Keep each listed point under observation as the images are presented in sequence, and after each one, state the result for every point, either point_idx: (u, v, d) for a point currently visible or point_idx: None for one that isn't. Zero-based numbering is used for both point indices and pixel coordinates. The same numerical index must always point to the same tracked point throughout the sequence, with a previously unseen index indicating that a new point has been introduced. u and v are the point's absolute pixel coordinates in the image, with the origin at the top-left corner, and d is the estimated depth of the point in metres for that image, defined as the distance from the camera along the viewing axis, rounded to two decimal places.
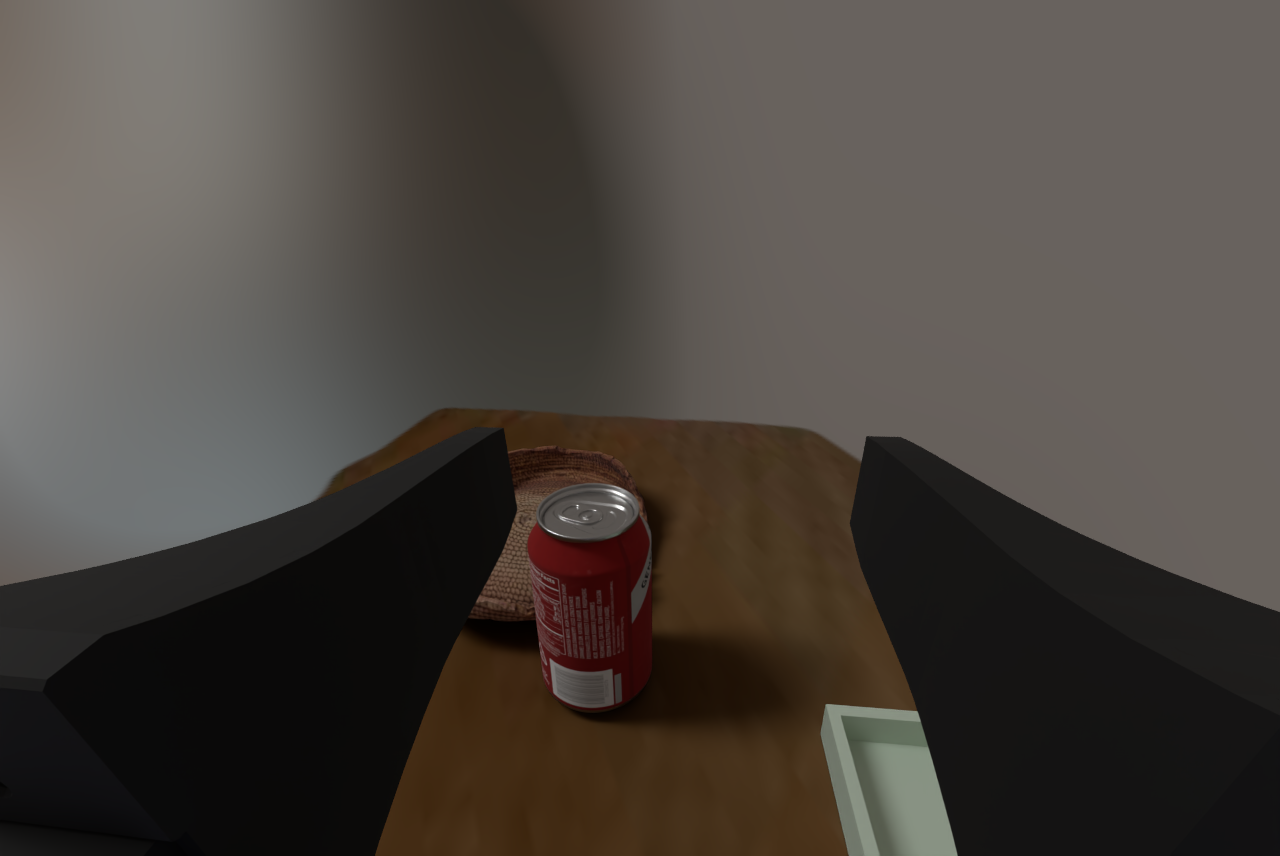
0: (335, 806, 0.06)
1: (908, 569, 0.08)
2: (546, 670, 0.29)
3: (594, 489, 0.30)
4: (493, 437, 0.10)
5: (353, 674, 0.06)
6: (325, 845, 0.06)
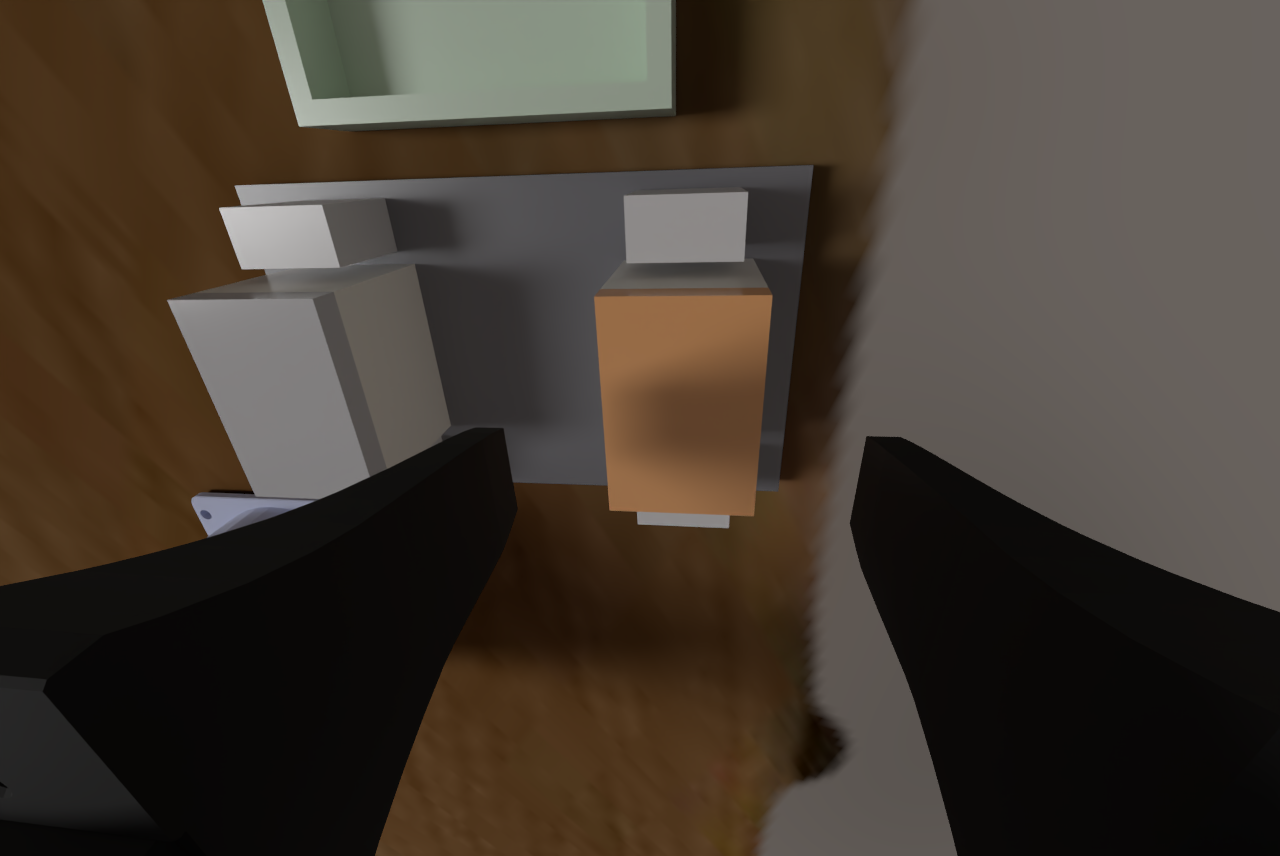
0: (335, 806, 0.06)
1: (908, 569, 0.08)
2: None
3: None
4: (493, 437, 0.10)
5: (353, 674, 0.06)
6: (325, 845, 0.06)
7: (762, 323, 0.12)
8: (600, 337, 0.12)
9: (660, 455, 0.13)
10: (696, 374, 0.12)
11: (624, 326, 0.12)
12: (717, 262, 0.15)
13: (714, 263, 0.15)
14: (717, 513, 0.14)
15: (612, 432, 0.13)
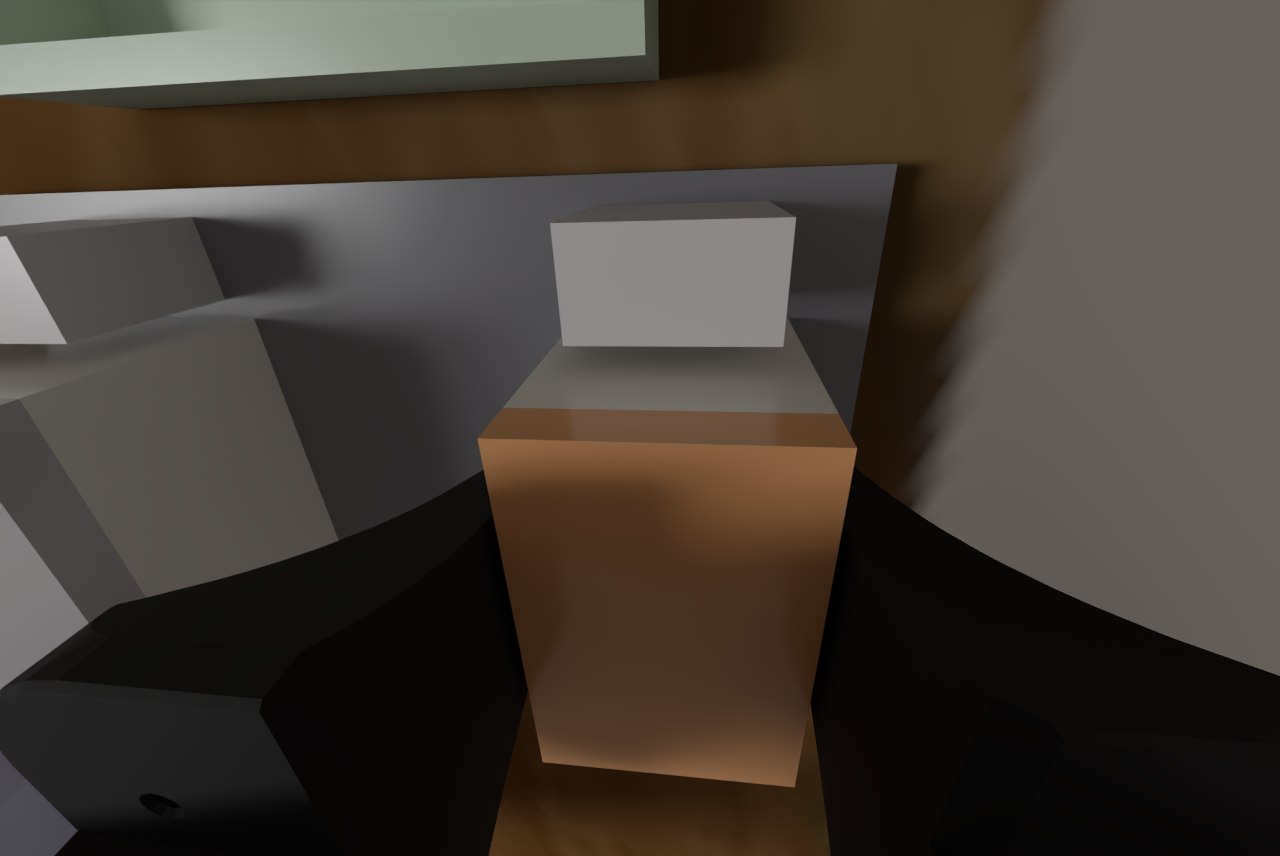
0: (459, 820, 0.06)
1: None
2: None
3: None
4: None
5: (472, 685, 0.06)
6: None
7: (831, 499, 0.05)
8: (498, 510, 0.06)
9: (626, 696, 0.07)
10: (691, 579, 0.06)
11: (544, 493, 0.06)
12: None
13: None
14: (729, 775, 0.08)
15: (537, 658, 0.07)
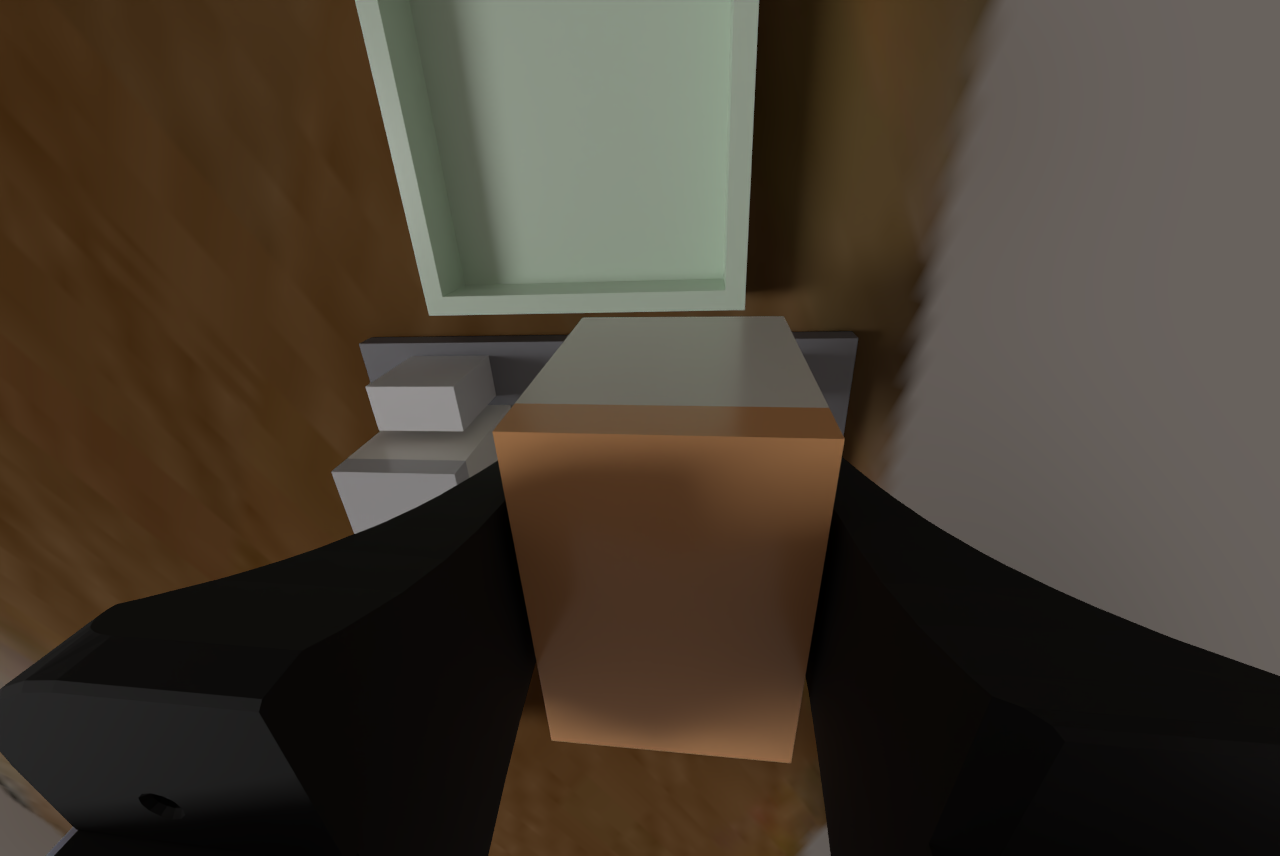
0: (459, 820, 0.06)
1: None
2: None
3: None
4: None
5: (472, 684, 0.06)
6: None
7: (821, 486, 0.06)
8: (511, 499, 0.06)
9: (631, 675, 0.08)
10: (692, 563, 0.07)
11: (554, 483, 0.06)
12: (727, 325, 0.10)
13: (723, 328, 0.09)
14: (729, 752, 0.09)
15: (546, 639, 0.08)
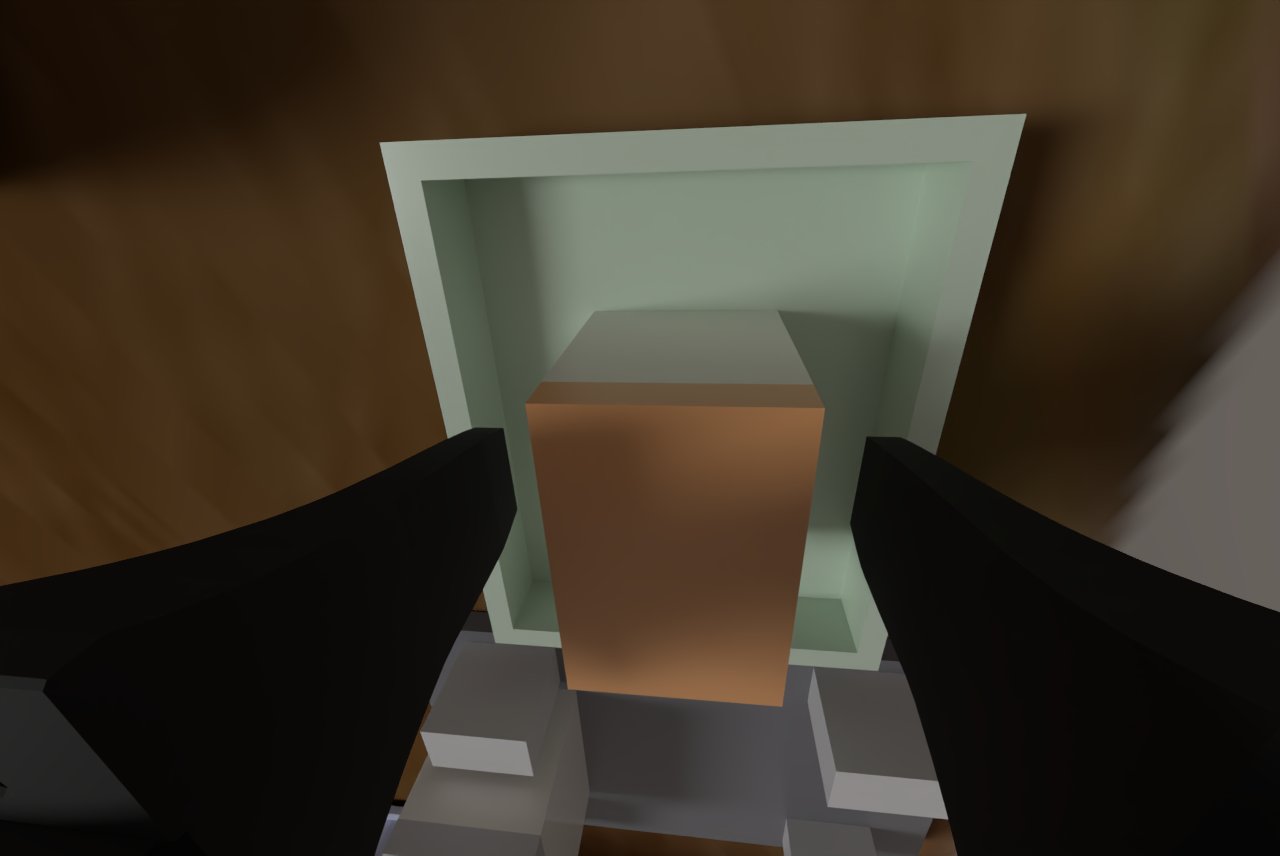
0: (335, 806, 0.06)
1: (908, 569, 0.08)
2: None
3: None
4: (493, 437, 0.10)
5: (353, 674, 0.06)
6: (325, 845, 0.06)
7: (806, 450, 0.07)
8: (539, 463, 0.07)
9: (640, 625, 0.09)
10: (695, 520, 0.08)
11: (577, 448, 0.07)
12: (726, 317, 0.11)
13: (722, 320, 0.10)
14: (726, 698, 0.10)
15: (566, 592, 0.09)
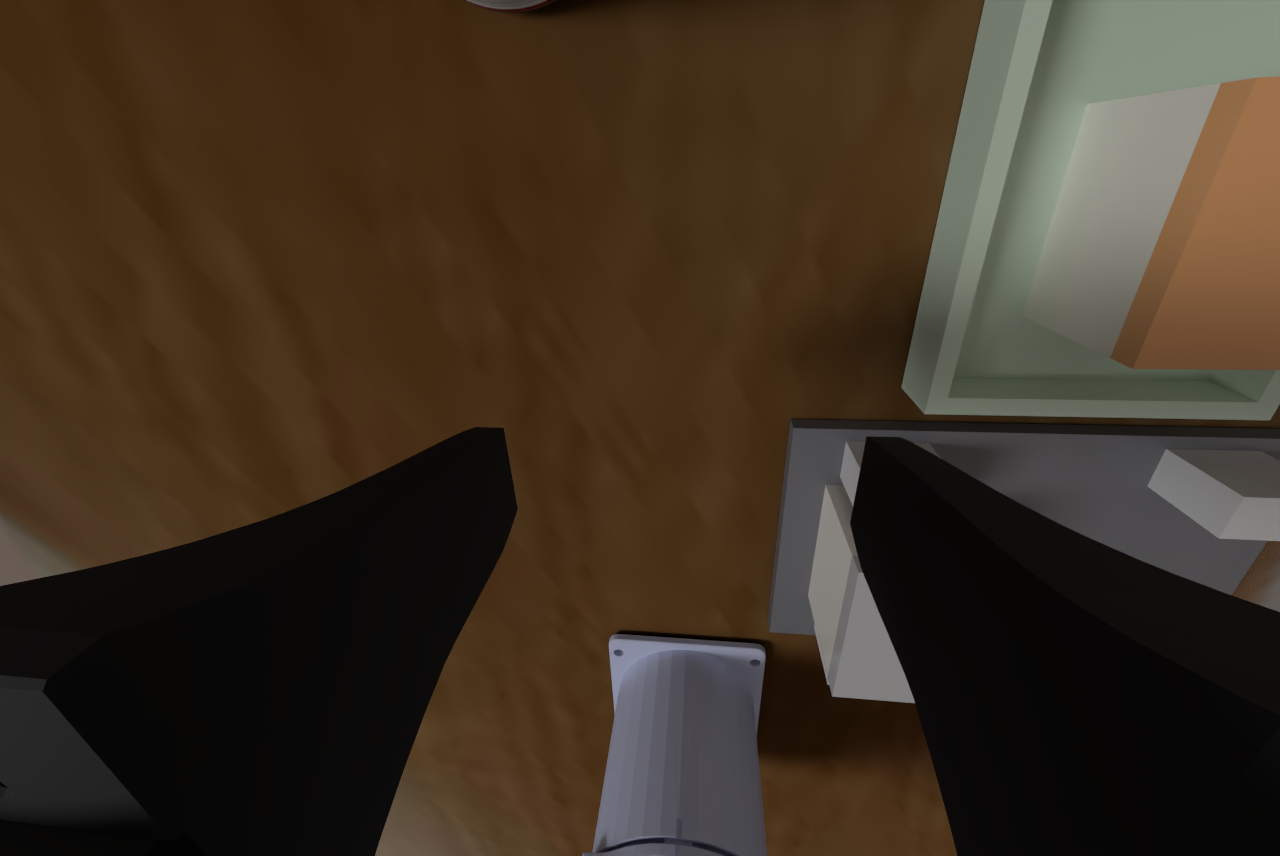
0: (335, 806, 0.06)
1: (908, 569, 0.08)
2: None
3: None
4: (493, 437, 0.10)
5: (353, 674, 0.06)
6: (325, 845, 0.06)
7: None
8: (1237, 134, 0.10)
9: (1236, 293, 0.12)
10: None
11: (1277, 117, 0.10)
12: None
13: None
14: (1267, 368, 0.12)
15: (1188, 264, 0.12)
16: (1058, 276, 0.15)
